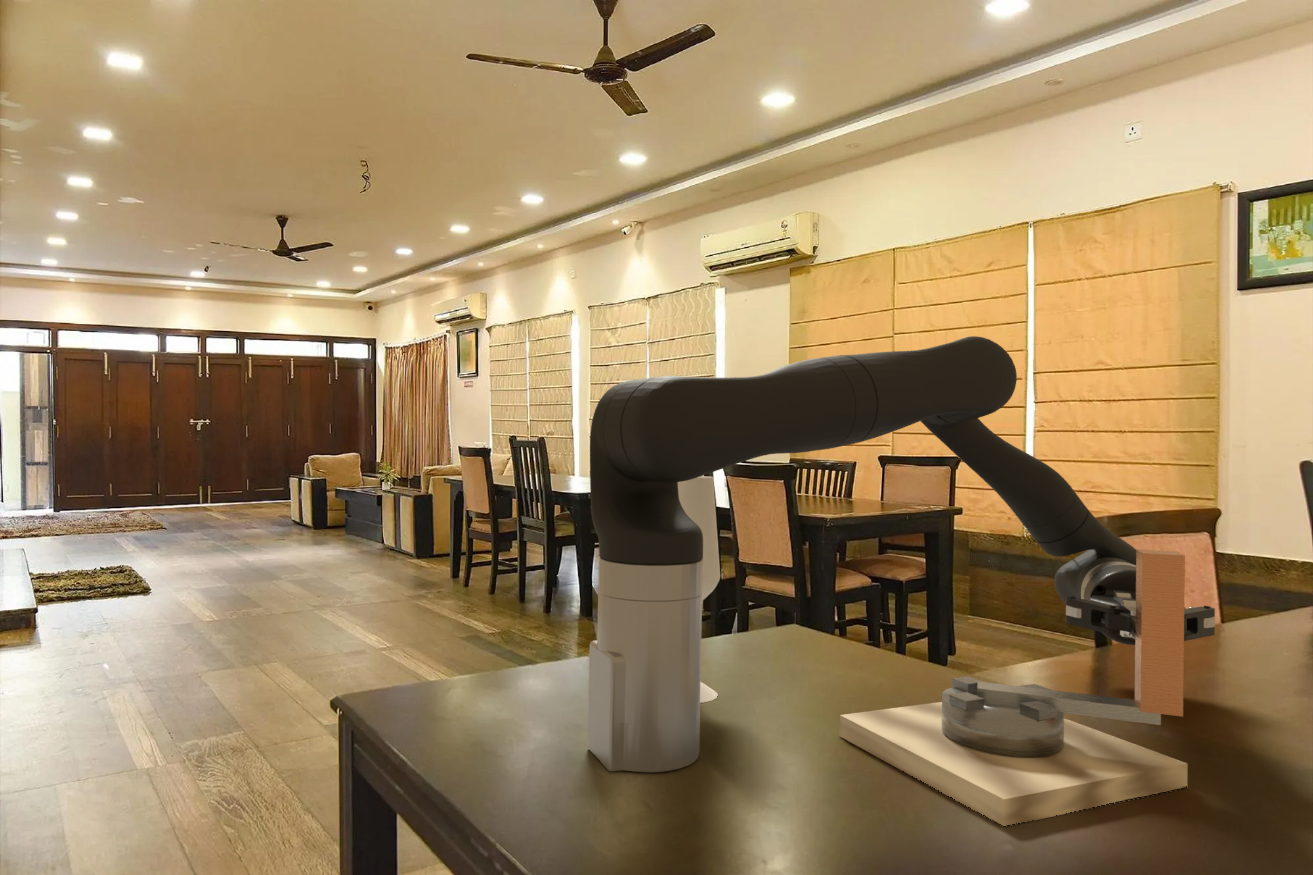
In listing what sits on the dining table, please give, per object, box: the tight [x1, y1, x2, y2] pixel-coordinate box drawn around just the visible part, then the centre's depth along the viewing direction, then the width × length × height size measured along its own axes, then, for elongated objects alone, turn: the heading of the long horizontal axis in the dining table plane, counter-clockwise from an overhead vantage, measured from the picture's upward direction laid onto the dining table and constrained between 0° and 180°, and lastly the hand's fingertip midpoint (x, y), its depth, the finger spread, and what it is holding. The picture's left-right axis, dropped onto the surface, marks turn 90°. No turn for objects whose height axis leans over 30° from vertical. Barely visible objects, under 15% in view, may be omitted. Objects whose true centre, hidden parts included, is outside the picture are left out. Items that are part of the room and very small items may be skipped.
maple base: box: [839, 701, 1189, 827], centre depth 73 cm, size 20×20×2 cm
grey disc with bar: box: [941, 548, 1186, 756], centre depth 71 cm, size 18×10×17 cm, turn 68°
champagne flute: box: [678, 475, 721, 704], centre depth 91 cm, size 7×7×24 cm
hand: (1156, 634), depth 70 cm, fingers closed
